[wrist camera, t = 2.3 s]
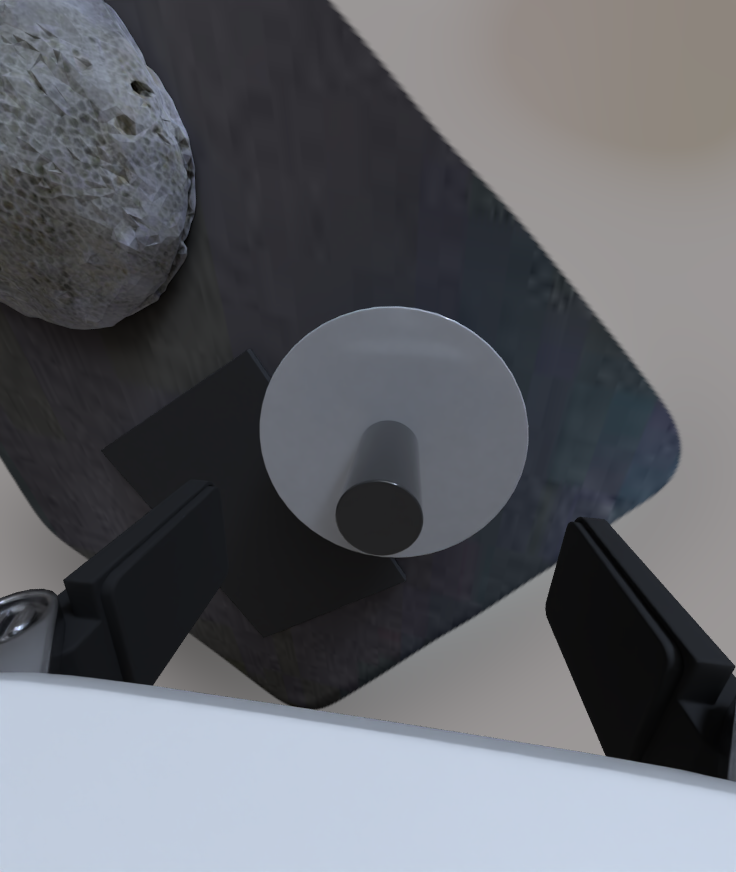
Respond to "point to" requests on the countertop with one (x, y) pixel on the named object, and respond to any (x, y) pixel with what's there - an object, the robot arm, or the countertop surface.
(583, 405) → the countertop surface
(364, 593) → the mat
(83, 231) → the stone
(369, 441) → the lid
